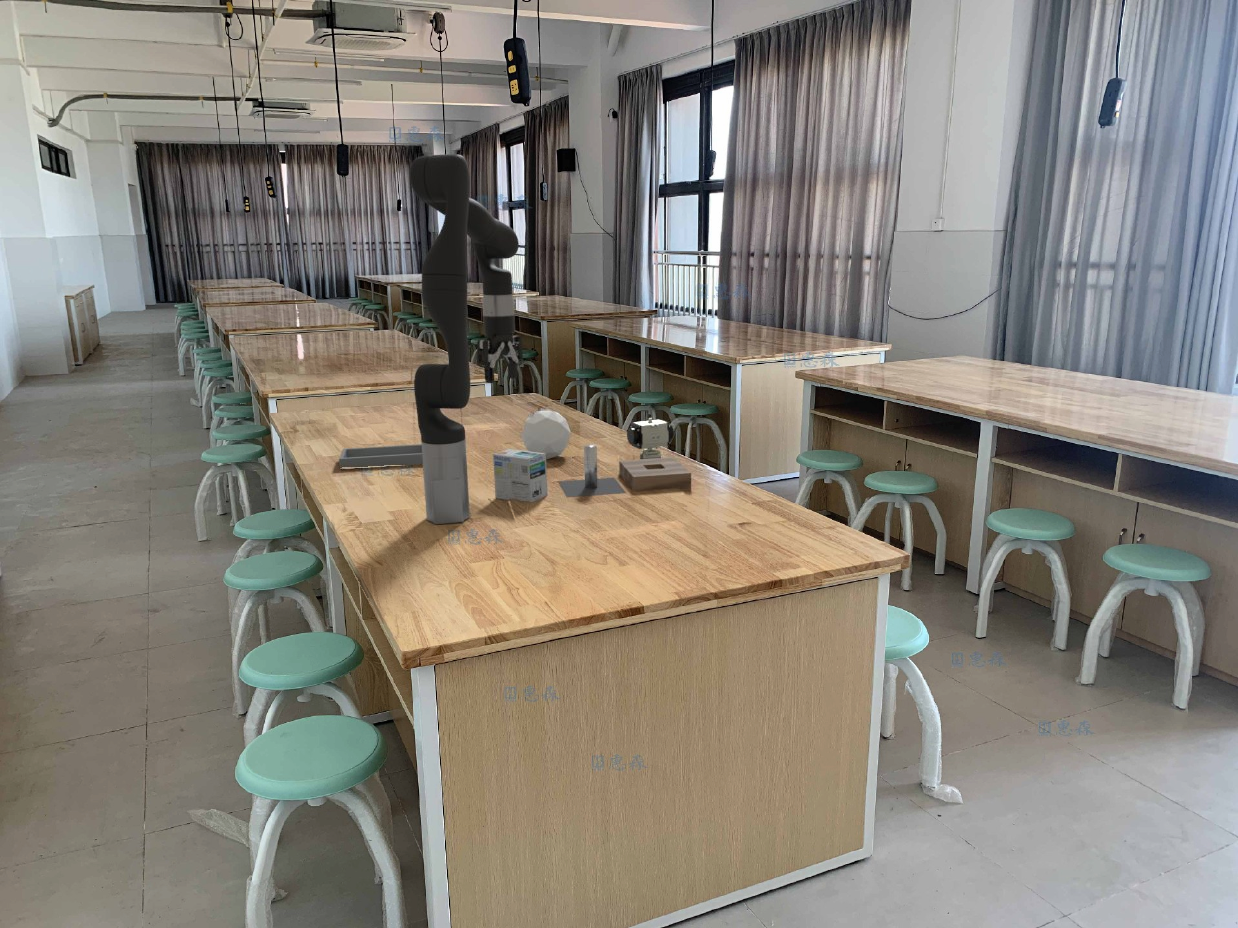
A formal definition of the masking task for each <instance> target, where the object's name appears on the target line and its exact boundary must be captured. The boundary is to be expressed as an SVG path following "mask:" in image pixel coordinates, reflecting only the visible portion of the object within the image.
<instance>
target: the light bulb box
mask: <svg viewBox="0 0 1238 928" xmlns="http://www.w3.org/2000/svg"><path fill="white" fill-rule="evenodd" d="M492 455H493V461H492V462H493V476H494V491H495V492H494V493H495V499H499V500H504V501H510V500H518V501H522V502H528V503H533V502H535V501H538V500H541V499H542V498H545V497H547V496H548V495H549V494H548V491H549V490H548V472H547V459H546V453H539V452H530V451H528V450H521V449H513V448H508V449H506V450H501V451H498V452H495V453H493V454H492Z"/></svg>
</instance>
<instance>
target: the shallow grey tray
mask: <svg viewBox="0 0 1238 928" xmlns="http://www.w3.org/2000/svg"><path fill="white" fill-rule="evenodd" d="M338 460H339V469H340V468H342V467H368V466H384V465H413V466H421V465H420V464H423V459H422V444H421V443H419V444H416V443H415V444H403V445H401V444H400V445H388V446H387V445H386V446H368V447H367V446H366V447H351V448H350V447H348V448H342V450H341V453H340V456H339V457H338Z"/></svg>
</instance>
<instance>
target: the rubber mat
mask: <svg viewBox="0 0 1238 928" xmlns="http://www.w3.org/2000/svg"><path fill="white" fill-rule="evenodd" d="M557 482H558V484H559V487H560V488H561V489H562V491H563V493H564V494H565V495H564V496H565V497H566V498H575V497H590V496H602V495H616V494H617V495H619V494H626V493H627V491H626V490H625V489H624V488H623V486H621V485H620V483H619V482H618V480H617V479H616V478H615V477H602V478H597V483H598V487H597V488H593V489H588V488H585V479H573V480H559V481H557Z"/></svg>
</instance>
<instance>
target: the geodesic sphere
mask: <svg viewBox="0 0 1238 928" xmlns="http://www.w3.org/2000/svg"><path fill="white" fill-rule="evenodd" d="M571 434H572V433H571V429H570V425H569V424H568V421H567V419H566V418H565V417H564V416H562V415H561V414H560V413H559V412H557V411H553V410H552V409H548V408H543V407H540V410H539V411H534V412H532V411H531V412H530V414H529V415H528V418H527V419H526V420H525V421H524V425H523V427H522V430H521V433H520V438H521V439H522V442H523V445H524V447H525V450H526V451H530V452H539V453H546V460H549V459H552V458H556V457H558V456H561V455H562V453H563V452H564V451H565V449H566V448H567V446H568V445H569V441H570V438H571Z"/></svg>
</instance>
